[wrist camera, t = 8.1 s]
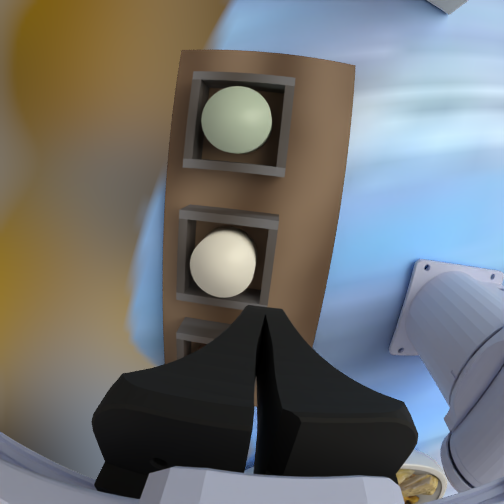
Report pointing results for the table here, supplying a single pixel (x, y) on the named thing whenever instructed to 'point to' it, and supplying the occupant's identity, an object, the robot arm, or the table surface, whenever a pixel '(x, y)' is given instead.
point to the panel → (255, 190)
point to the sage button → (237, 120)
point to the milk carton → (448, 4)
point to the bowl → (417, 479)
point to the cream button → (224, 262)
